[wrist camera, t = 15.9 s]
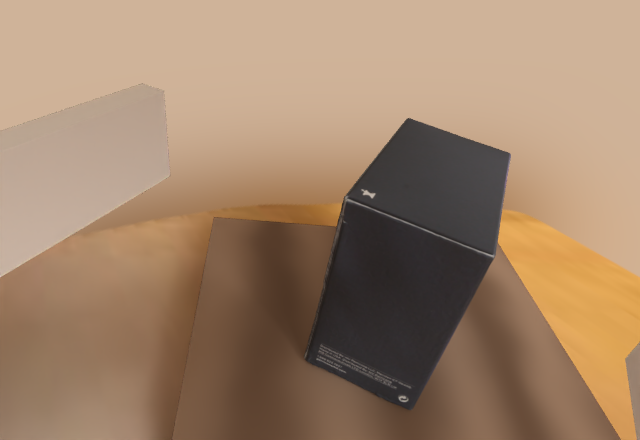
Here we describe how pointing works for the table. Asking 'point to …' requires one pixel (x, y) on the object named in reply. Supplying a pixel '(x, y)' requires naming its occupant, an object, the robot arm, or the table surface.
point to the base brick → (343, 396)
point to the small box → (408, 260)
